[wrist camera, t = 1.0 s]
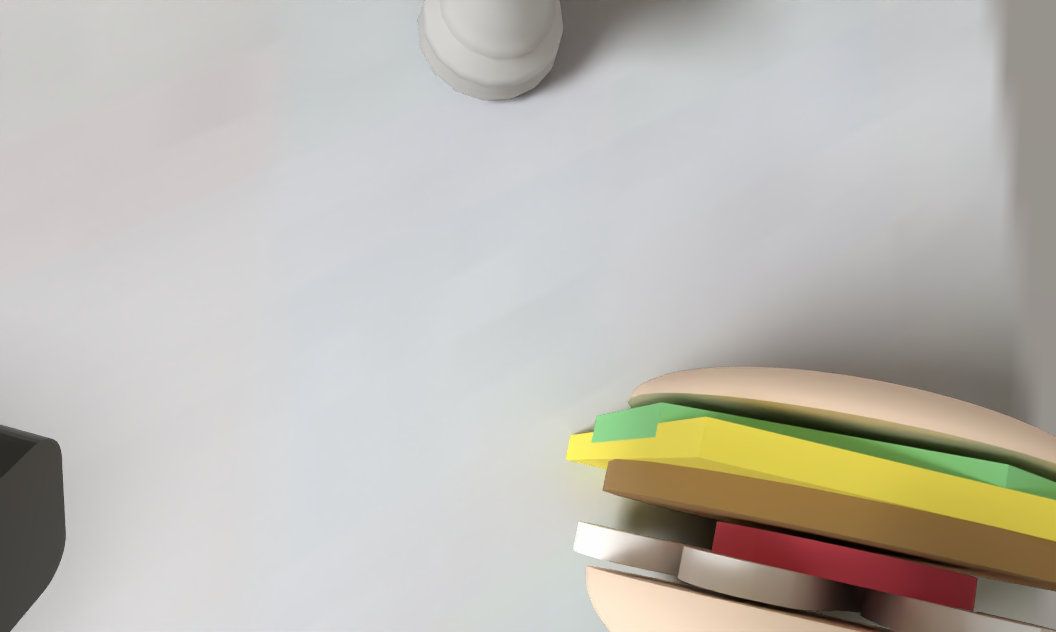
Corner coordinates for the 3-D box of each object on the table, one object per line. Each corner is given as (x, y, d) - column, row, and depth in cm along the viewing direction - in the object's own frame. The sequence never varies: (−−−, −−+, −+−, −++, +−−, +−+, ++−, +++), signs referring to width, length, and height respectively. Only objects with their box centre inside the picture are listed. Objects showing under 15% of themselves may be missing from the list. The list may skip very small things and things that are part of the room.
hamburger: (527, 640, 28) (641, 765, 17) (586, 362, 30) (727, 297, 18) (907, 718, 30) (1256, 882, 18) (944, 449, 31) (1290, 441, 20)
